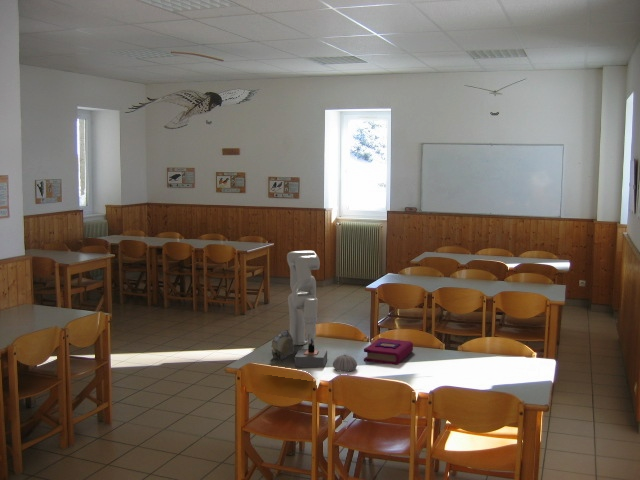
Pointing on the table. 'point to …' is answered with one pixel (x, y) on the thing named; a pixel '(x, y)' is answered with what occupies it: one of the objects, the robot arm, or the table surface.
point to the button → (311, 353)
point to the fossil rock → (282, 345)
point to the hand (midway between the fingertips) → (311, 352)
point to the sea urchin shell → (345, 363)
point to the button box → (311, 358)
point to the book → (388, 351)
